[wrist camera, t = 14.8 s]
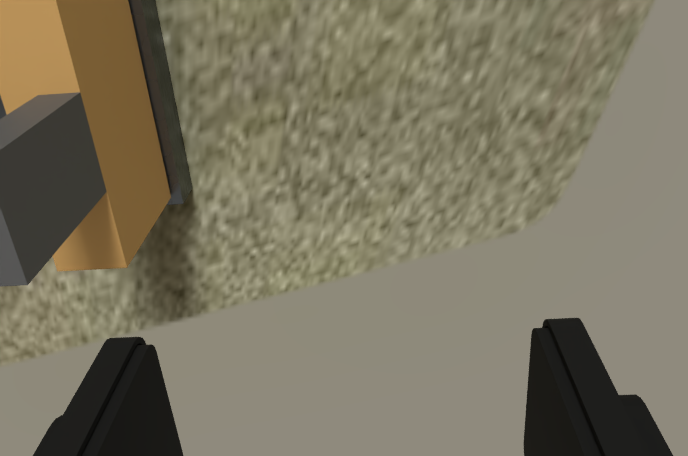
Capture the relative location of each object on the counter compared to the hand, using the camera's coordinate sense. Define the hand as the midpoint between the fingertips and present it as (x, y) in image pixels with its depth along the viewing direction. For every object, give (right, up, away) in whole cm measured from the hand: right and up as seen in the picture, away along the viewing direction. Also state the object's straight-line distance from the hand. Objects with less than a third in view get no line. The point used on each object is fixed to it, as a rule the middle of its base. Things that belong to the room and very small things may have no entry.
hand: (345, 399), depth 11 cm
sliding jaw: (-11, +9, +20) cm, 24 cm away
